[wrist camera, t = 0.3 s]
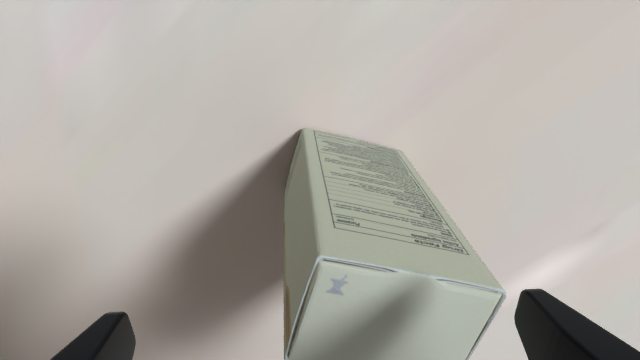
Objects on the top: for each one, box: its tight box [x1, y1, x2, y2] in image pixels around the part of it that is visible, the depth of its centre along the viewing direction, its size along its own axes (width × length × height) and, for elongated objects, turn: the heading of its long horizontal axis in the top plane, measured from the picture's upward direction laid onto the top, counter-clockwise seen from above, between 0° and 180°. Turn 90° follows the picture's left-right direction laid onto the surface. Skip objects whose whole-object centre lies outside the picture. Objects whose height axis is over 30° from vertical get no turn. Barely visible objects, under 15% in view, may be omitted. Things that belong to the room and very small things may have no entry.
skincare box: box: [284, 128, 506, 360], centre depth 18 cm, size 6×4×12 cm
